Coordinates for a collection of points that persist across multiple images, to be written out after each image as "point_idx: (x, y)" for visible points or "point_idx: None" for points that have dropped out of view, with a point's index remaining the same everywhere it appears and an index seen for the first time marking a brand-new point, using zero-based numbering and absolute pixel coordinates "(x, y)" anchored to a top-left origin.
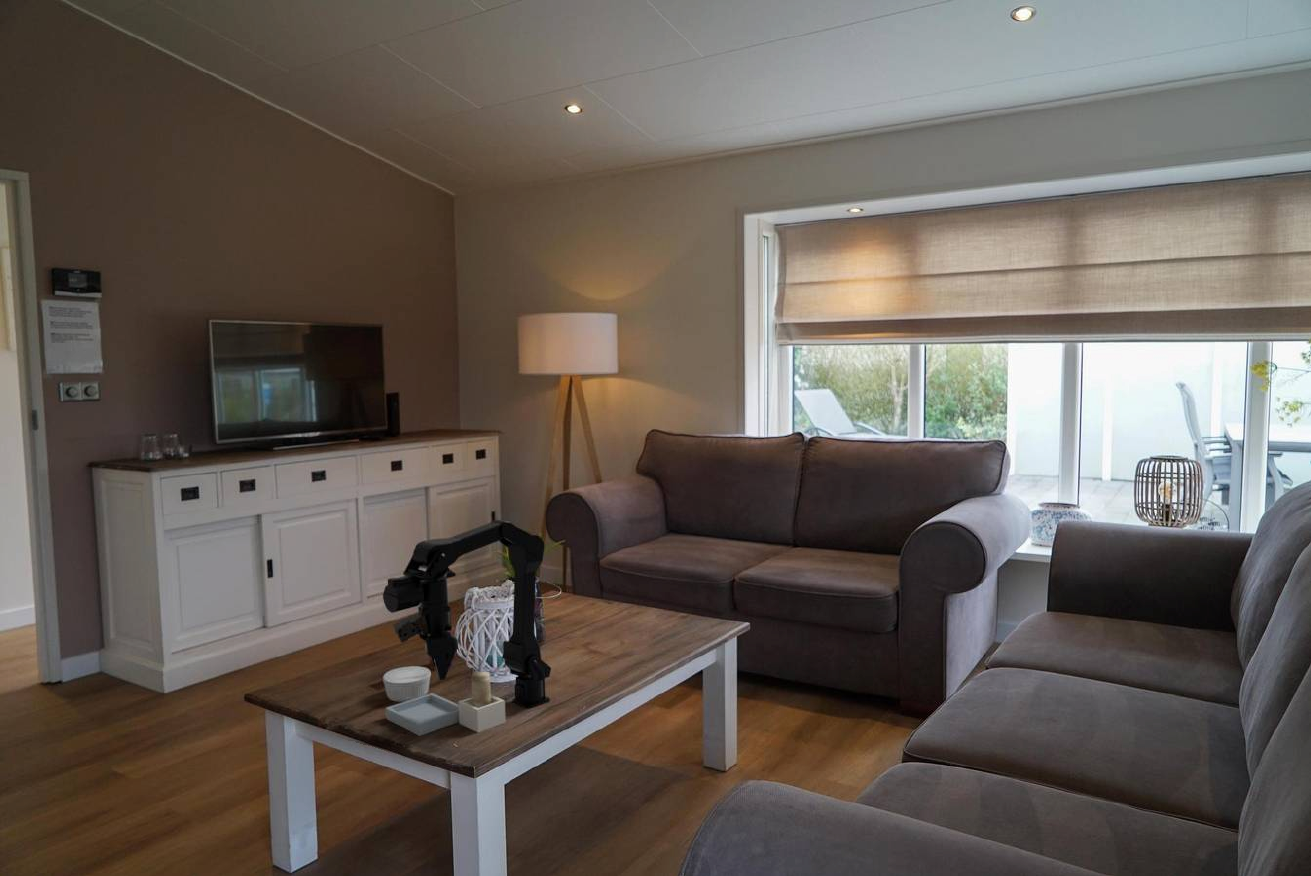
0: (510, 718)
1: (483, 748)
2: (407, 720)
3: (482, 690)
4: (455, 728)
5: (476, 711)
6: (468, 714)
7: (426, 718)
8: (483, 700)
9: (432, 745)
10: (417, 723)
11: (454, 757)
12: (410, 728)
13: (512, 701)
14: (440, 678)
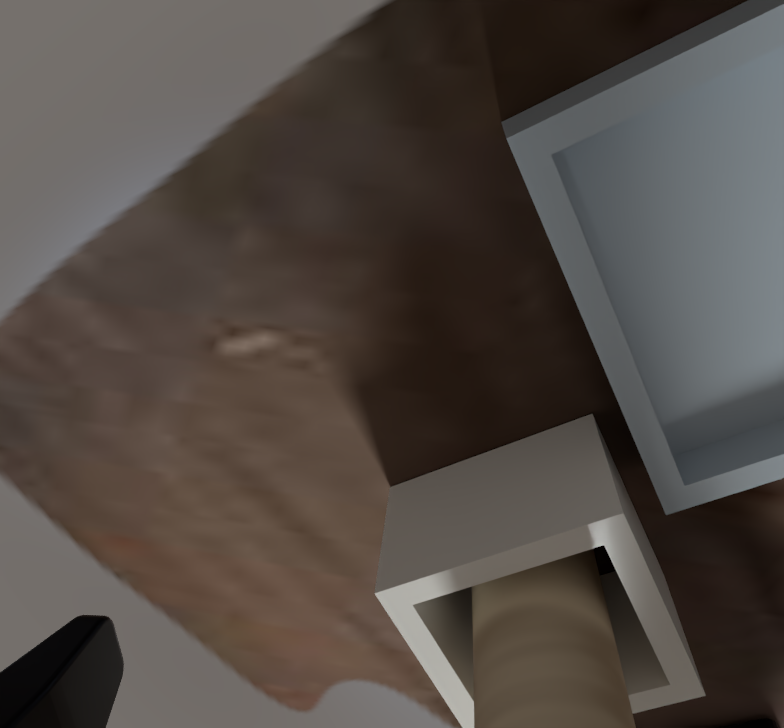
0: None
1: (152, 472)
2: (702, 40)
3: None
4: (524, 379)
5: (386, 579)
6: (485, 512)
7: (754, 214)
8: (473, 668)
9: (288, 200)
10: (538, 128)
11: (59, 310)
12: (637, 59)
13: (764, 719)
14: (64, 641)
